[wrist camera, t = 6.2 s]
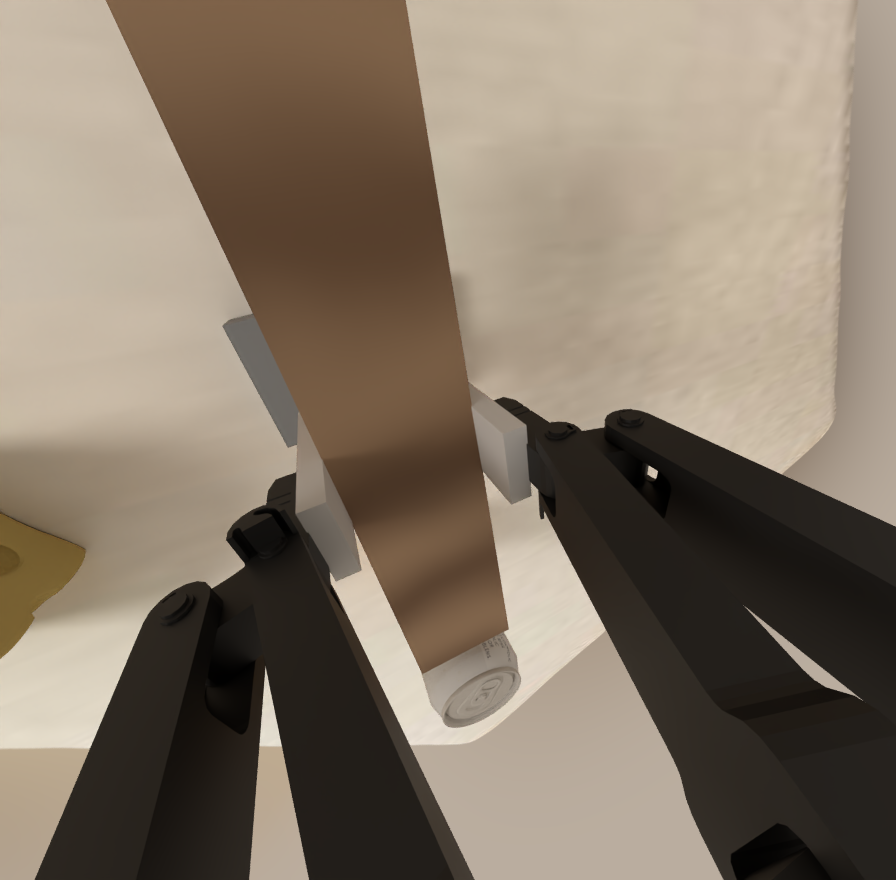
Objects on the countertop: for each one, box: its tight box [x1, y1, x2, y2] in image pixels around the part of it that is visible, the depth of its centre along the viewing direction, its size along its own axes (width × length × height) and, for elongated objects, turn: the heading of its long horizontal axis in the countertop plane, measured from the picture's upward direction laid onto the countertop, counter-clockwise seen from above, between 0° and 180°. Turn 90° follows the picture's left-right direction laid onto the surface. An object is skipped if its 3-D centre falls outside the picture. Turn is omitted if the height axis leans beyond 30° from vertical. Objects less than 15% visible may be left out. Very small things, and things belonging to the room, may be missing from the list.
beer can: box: [421, 632, 521, 728], centre depth 26 cm, size 6×6×15 cm
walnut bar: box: [106, 0, 509, 674], centre depth 13 cm, size 24×5×5 cm, turn 11°
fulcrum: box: [223, 314, 299, 447], centre depth 20 cm, size 8×12×8 cm, turn 101°
